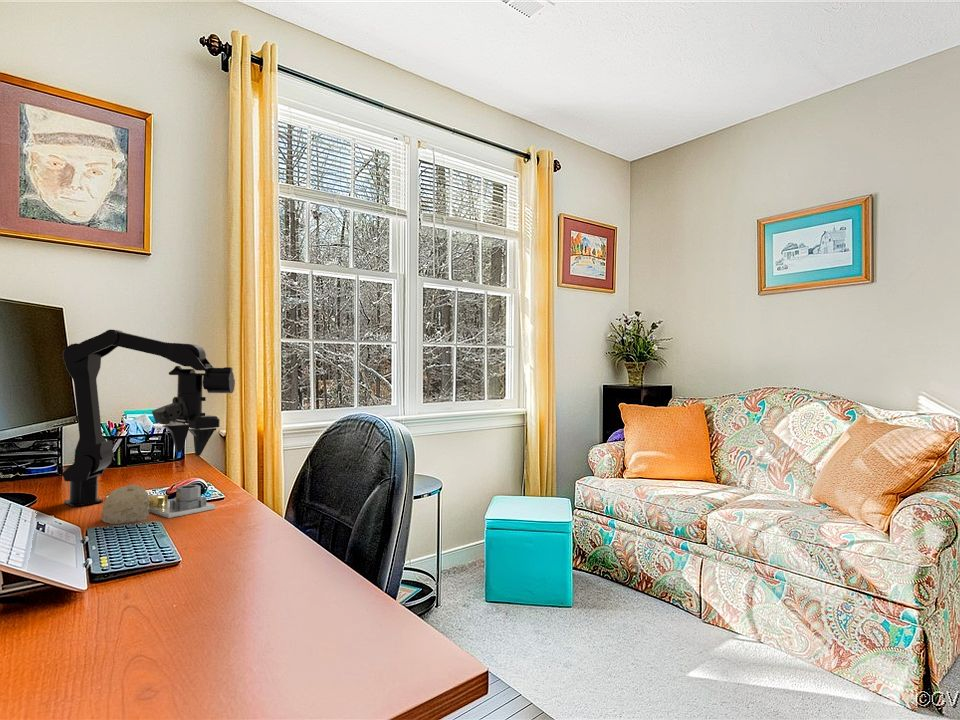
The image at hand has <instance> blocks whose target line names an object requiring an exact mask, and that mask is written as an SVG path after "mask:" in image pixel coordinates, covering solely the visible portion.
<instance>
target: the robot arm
mask: <svg viewBox="0 0 960 720" xmlns="http://www.w3.org/2000/svg"><path fill="white" fill-rule="evenodd" d="M117 348H124V349H128V350H133V351H137V352H142V353H146V354H151V355H155V356H159V357H162V358H164V359H166V360H168V361H171V362H172V363H175V364H177V365H176V366H174V367H173V369H172V370H170V371H169V372H168V375H169V376H177V391H176V392H177V394H176V396H173V398H172V403H169V404H166V405H163V406H161V407H158V408H156V409H153V410H151V414H152V417H153V418H154V422H155V424H159V425H162V427H163V428H165V429H166V430H167V431H168V432H169V433H170V435H171V438H172V441H173V445H174V447H175V452H176V453H181V452H182V451H183V449H184V446H185V444H186V443H185V442H186V439H187V436H188V433H189V432H190V434H191V435H192V436H193V446H194V454H195V455H194V456H195V457H199V456H201V455H202V453H203V452H204V449H205V448H206V446H207V443H209V440H210V439H211V437H212V435H213V434H214V432H215V431H217V428H220V424H221V423H220V422H221V421H220V418H219V417H218V416H216V415H206V413H205V412H203V402H206V400H207V399H206V396H203V390H206V391H207V393H208V394H233V393H234V390H235V384H236V380H235V376H234V372H233V367H232V366H231V367H230V366H229V367H226V366H225V367H214V366H213V365H212V363H210V361H209V359H207V356H206V355H207V354H206V351H205V350H204V348H203V346H201V345H199V344H191V343H179V342H166V341H162V340H159V339H158V340H157V339H153V338H148V337H144V336H140V335H136V334H132V333H127V332H124V331H122V330H119V329H107V330H105V331H104V332H102V333H100V334H98V335H96V336H93V337H90V338H87V339H85V340H83V341H81V342H80V343H75V342H74V343H71V344H69V345H67V347H66V348H65V349H64V350H63V351H62V358H63V362H64V365H65V369H66V370H67V372H68V374H69V376H70V377H71V378H72V381H73V387H74V395H75V403H76V404H75V405H76V416H77V425H78V433H79V434H78V435H79V436H78V437H79V438H78V441H77V443H76V447H75V449H74V459H73V460H74V461H73V463H72V464H71V465H70V466H69V467H68V468H66V470H64V471H63V472H62V477H63V480H64V482H69V500H68V499H67V500H63V504H65V505H68V506H71V507H80V506H86V505H87V506H88V505H93V504H94V505H95V504H99V503H103V502H104V500H103V499H101V498H98V492H99V491H98V485H99V483H98V482H99V481H98V480H99V476H101V475H103V474H104V472H105V470H106V469H107V468H108V467H109V465H110V464H111V463H112V461H113V457H115V453H114V450H113V447H114V446H113V440H106V438H105V437H104V435H103V433H102V432H103V430H102V423H101V414H100V413H101V411H100V402H99V401H100V400H99V393H98V384H97V378H98V374H99V373H100V369H101V363H102V358H104V357H105V356H107V355H110V353H111V352H113V351H114V350H116V349H117ZM181 366H182V367H190V368H182V367H181ZM196 371H201V373H199V372H198V373H197V372H196ZM202 371H204V373H203V372H202Z"/></svg>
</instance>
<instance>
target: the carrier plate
mask: <svg viewBox="0 0 960 720" xmlns="http://www.w3.org/2000/svg"><path fill="white" fill-rule="evenodd" d="M148 497H149V513H153V514H156V515H158V516H161V517H164V518H167V519H172V518H177V517H181V516H187V515H191V514H196V513H201V512H205V511H207V512H208V511H211V510H215V509H216V505H215V504H213V503H210V502H207V501H206V504H204V506H203V507H196V508H192V509H178V510H177V509H175V508H170V500H171V499H169V498H168V497H169V495H168V494H148Z"/></svg>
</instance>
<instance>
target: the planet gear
mask: <svg viewBox="0 0 960 720" xmlns="http://www.w3.org/2000/svg"><path fill="white" fill-rule="evenodd" d="M201 490H202V489H201V485H199V484H183V485H179V486H177V487H176V493H175V494H176V495H175V497H173V498H172V499H169V500H170V508H175V509H177V510H178V509H192V508H196V507H203V506H204V504H206V502H207V497H206V496H202V495H201V492H202V491H201Z"/></svg>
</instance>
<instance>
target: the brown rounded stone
mask: <svg viewBox="0 0 960 720" xmlns="http://www.w3.org/2000/svg"><path fill="white" fill-rule="evenodd" d="M148 496H149V492H148V491H146V489H145V487H142V486H140V485H137V484H128V485H125V486H121V487H117V488H115V490H112V491H111V492H110V494H108V495H107V497H106V498H105V501H104V503H103V504H102V511H101V512H102V513H101V521H102V522H104V523H107V524H112V525H113V524H115V525H118V524H119V525H120V524H127V523H128V524H129V523H137V522H141V521H142V522H143V521H145V520H146V519H148V518H149V517H150V512H149V497H148Z"/></svg>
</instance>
